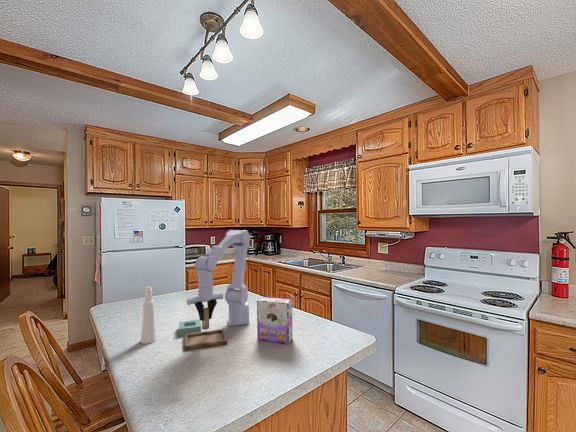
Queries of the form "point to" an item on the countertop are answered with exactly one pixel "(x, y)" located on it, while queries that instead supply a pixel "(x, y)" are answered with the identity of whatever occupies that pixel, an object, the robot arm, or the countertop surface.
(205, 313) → the pin
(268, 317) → the candy box
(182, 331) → the teal square ring
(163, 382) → the countertop surface
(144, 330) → the cosmetic bottle
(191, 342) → the tray
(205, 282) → the robot arm
